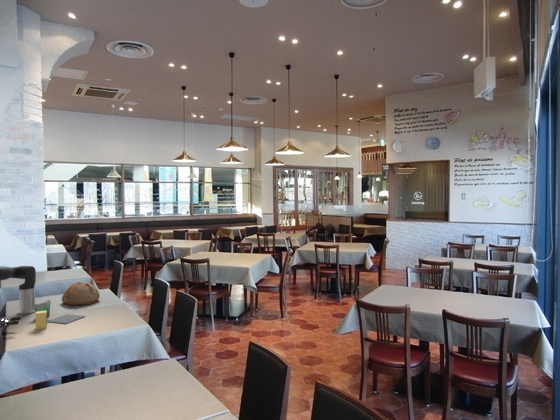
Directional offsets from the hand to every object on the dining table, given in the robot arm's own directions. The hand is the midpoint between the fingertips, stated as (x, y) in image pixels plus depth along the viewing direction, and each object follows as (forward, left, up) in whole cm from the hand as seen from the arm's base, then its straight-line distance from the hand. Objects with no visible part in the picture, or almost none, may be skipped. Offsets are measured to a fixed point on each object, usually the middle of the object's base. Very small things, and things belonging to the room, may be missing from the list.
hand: (19, 320), depth 234 cm
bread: (-38, +54, -7) cm, 66 cm away
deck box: (+5, +10, -7) cm, 13 cm away
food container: (-18, +21, -7) cm, 29 cm away
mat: (0, +27, -7) cm, 28 cm away
